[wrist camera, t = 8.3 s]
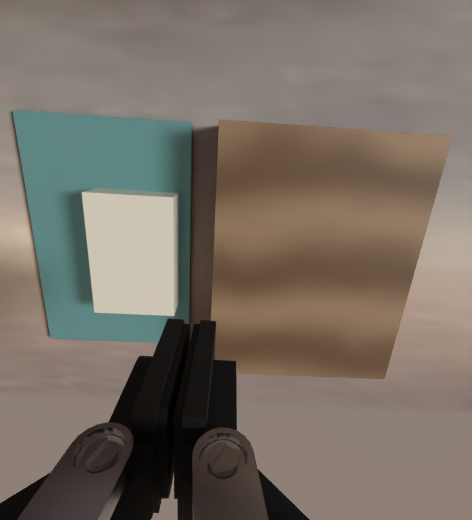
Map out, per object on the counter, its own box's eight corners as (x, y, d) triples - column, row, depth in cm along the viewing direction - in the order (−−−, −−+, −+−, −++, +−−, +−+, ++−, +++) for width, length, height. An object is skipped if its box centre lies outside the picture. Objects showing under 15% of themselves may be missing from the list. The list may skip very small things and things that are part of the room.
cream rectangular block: (173, 197, 20) (178, 192, 22) (81, 191, 20) (96, 187, 22) (174, 315, 23) (178, 301, 25) (94, 312, 23) (106, 298, 25)
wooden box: (220, 125, 21) (218, 119, 18) (413, 138, 22) (452, 136, 18) (211, 342, 27) (208, 372, 24) (363, 348, 28) (384, 378, 24)
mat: (16, 110, 21) (12, 110, 20) (192, 123, 21) (191, 122, 21) (52, 335, 27) (50, 338, 26) (189, 341, 27) (188, 343, 27)
